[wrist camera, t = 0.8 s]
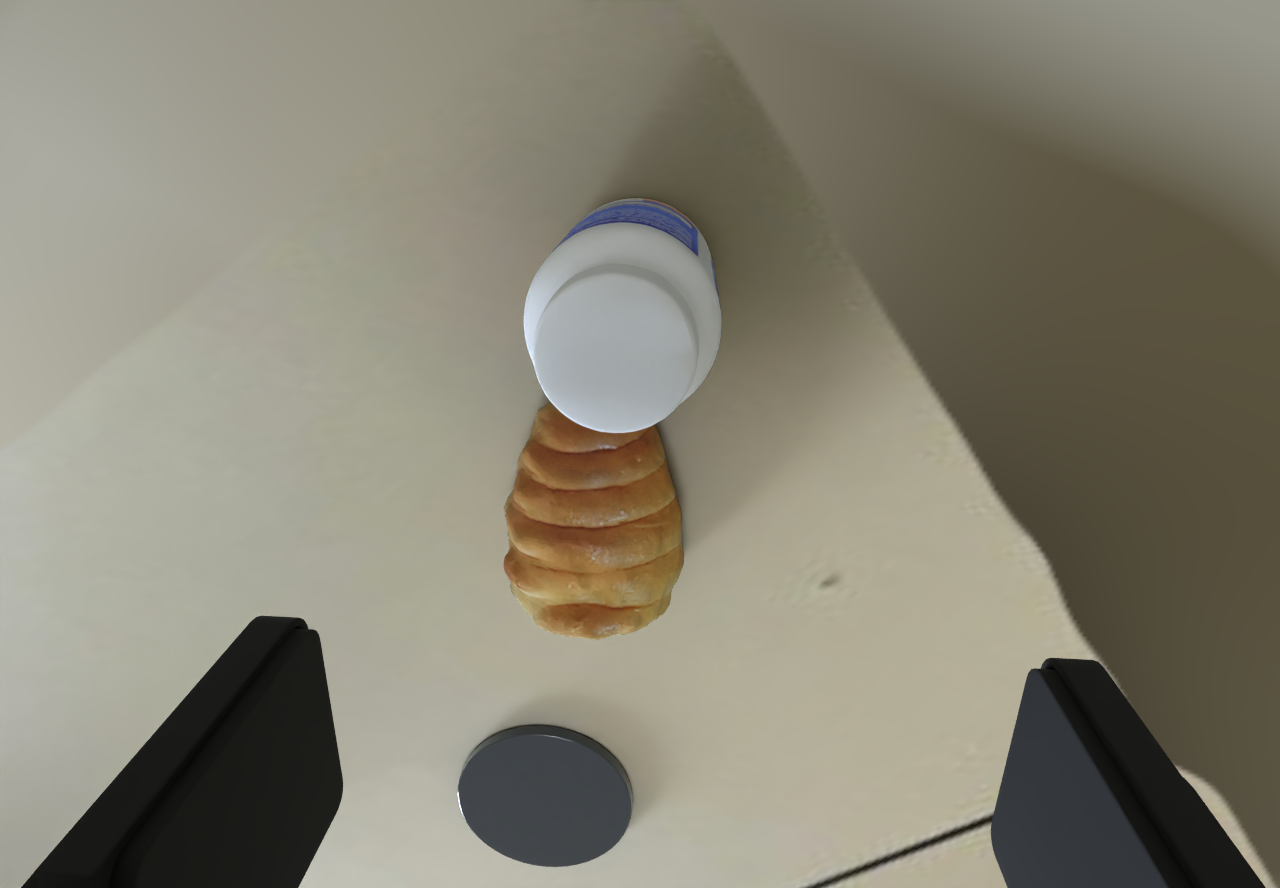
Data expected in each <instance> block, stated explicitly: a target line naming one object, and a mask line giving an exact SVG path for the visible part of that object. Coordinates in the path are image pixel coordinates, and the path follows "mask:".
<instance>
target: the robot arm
mask: <svg viewBox="0 0 1280 888" xmlns="http://www.w3.org/2000/svg"><path fill="white" fill-rule="evenodd" d="M342 793H343V778H342V772H341V766H340V760H339V753H338V747H337V741H336V735H335V729H334V722H333V716H332V710H331V704H330V698H329V692H328V685H327V679H326V673H325V667H324V661H323V654H322V648H321V642H320V637H319V634H318V633H317V631H316V630H312V629H308V626H307V624H306V622H305V621H304V620H303V619H301V618H293V617H274V616H259V617H256V618H255V619H253V620H252V621H251V622H250V623H249V624H248V626H247V627H246V628H245V629H244V630H243V631H242V633H241V634H240V635H239V636H238V637H237V638H236V639H235V641H234V642H233V643H232V644H231V645H230V646H229V648H228V649H227V650H226V651H225V652H224V653H223V654H222V656H221V657H220V658H219V659H218V660H217V661H216V663H215V664H214V665H213V666H212V667H211V668H210V669H209V671H208V672H207V673H206V674H205V675H204V676H203V678H202V679H201V680H200V681H199V682H198V683H197V685H196V686H195V687H194V688H193V689H192V690H191V691H190V693H189V694H188V695H187V696H186V697H185V698H184V700H183V701H182V702H181V703H180V704H179V705H178V706H177V708H176V709H175V710H174V711H173V712H172V713H171V715H170V716H169V717H168V718H167V719H166V720H165V721H164V723H163V724H162V725H161V726H160V727H159V728H158V730H157V731H156V732H155V733H154V734H153V735H152V736H151V738H150V739H149V740H148V741H147V742H146V743H145V745H144V746H143V747H142V748H141V749H140V750H139V751H138V753H137V754H136V755H135V756H134V757H133V758H132V760H131V761H130V762H129V763H128V764H127V765H126V766H125V768H124V769H123V770H122V771H121V772H120V773H119V775H118V776H117V777H116V778H115V779H114V780H113V781H112V783H111V784H110V785H109V786H108V787H107V788H106V790H105V791H104V792H103V793H102V794H101V795H100V796H99V798H98V799H97V800H96V801H95V802H94V803H93V805H92V806H91V807H90V808H89V809H88V810H87V811H86V813H85V814H84V815H83V816H82V817H81V818H80V820H79V821H78V822H77V823H76V824H75V825H74V826H73V828H72V829H71V830H70V831H69V832H68V833H67V835H66V836H65V837H64V838H63V839H62V840H61V841H60V843H59V844H58V845H57V846H56V847H55V848H54V850H53V851H52V852H51V853H50V854H49V855H48V857H47V858H46V859H45V860H44V861H43V862H42V863H41V865H40V866H39V867H38V868H37V869H36V870H35V872H34V873H33V874H32V875H31V877H30V878H29V879H28V880H27V881H26V882H25V884H24V885H23V886H22V887H21V888H298V887H299V885H300V883H301V881H302V879H303V877H304V875H305V873H306V871H307V869H308V867H309V865H310V864H311V862H312V860H313V858H314V856H315V854H316V852H317V850H318V848H319V846H320V844H321V842H322V840H323V838H324V836H325V834H326V832H327V830H328V828H329V826H330V824H331V822H332V821H333V819H334V817H335V815H336V813H337V810H338V808H339V805H340V802H341V798H342ZM991 839H992V846H993V850H994V853H995V857H996V859H997V862H998V864H999V867H1000V869H1001V872H1002V874H1003V877H1004V879H1005V882H1006V885H1007V887H1008V888H1265V886H1264V885H1263V883H1262V882H1261V881H1260V879H1259V878H1258V876H1257V875H1256V874H1255V872H1254V871H1253V870H1252V868H1251V867H1250V865H1249V864H1248V863H1247V861H1246V860H1245V859H1244V857H1243V856H1242V854H1241V853H1240V852H1239V850H1238V849H1237V847H1236V846H1235V845H1234V843H1233V842H1232V841H1231V839H1230V838H1229V836H1228V835H1227V834H1226V832H1225V831H1224V829H1223V828H1222V827H1221V825H1220V824H1219V823H1218V821H1217V820H1216V818H1215V817H1214V816H1213V814H1212V813H1211V811H1210V810H1209V809H1208V807H1207V806H1206V805H1205V803H1204V802H1203V800H1202V799H1201V798H1200V796H1199V795H1198V794H1197V792H1196V791H1195V789H1194V788H1193V787H1192V786H1191V785H1190V784H1189V783H1188V782H1187V781H1186V779H1185V778H1183V777H1182V776H1181V774H1180V773H1179V772H1178V770H1177V769H1176V767H1175V766H1174V765H1173V763H1172V762H1171V760H1170V759H1169V758H1168V756H1167V755H1166V754H1165V752H1164V751H1163V749H1162V748H1161V747H1160V745H1159V744H1158V743H1157V741H1156V740H1155V738H1154V737H1153V735H1152V734H1151V733H1150V731H1149V730H1148V728H1147V727H1146V726H1145V725H1144V723H1143V722H1142V720H1141V719H1140V717H1139V716H1138V715H1137V713H1136V712H1135V710H1134V709H1133V708H1132V706H1131V705H1130V703H1129V702H1128V701H1127V699H1126V698H1125V696H1124V695H1123V694H1122V692H1121V691H1120V689H1119V688H1118V687H1117V685H1116V684H1115V683H1114V681H1113V680H1112V678H1111V677H1110V676H1109V674H1108V673H1107V671H1106V670H1105V669H1104V667H1103V666H1102V665H1101V664H1100V663H1099V662H1097V661H1094V660H1081V659H1062V658H1049V659H1046V660H1045V661H1044V663H1043V664H1042V667H1041V669H1031V671H1030V672H1029V673H1028V676H1027V679H1026V683H1025V687H1024V691H1023V696H1022V700H1021V704H1020V708H1019V712H1018V716H1017V720H1016V724H1015V728H1014V733H1013V737H1012V741H1011V745H1010V749H1009V753H1008V757H1007V761H1006V766H1005V770H1004V774H1003V778H1002V782H1001V786H1000V790H999V794H998V799H997V803H996V807H995V811H994V815H993V819H992V825H991Z"/></svg>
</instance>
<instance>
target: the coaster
mask: <svg viewBox="0 0 1280 888" xmlns="http://www.w3.org/2000/svg"><path fill="white" fill-rule="evenodd" d="M458 800H459V806H460V809H461V812H462V815H463V817H464V819H465V821H466V822H467V824H468V825H469V827H470V828H471V830H472V831H473V832H474V833H475V834H476V835H477V836H478V837H479V838H480V839H481V840H482V841H483V842H484V843H485V844H487V845H488V846H490V847H491V848H492V849H494V850H495V851H497V852H499V853H501V854H503V855H505V856H507V857H509V858H511V859H514V860H517V861H520V862H523V863H527V864H532V865H537V866H545V867H563V866H571V865H577V864H581V863H585V862H588V861H590V860H593V859H595V858H597V857H599V856H601V855H603V854H605V853H606V852H607V851H609V850H610V849H611V848H613V847H614V846H615V845H616V844H617V843H618V842H619V840H620V839H621V838H622V836H623V835H624V833H625V831H626V829H627V827H628V825H629V822H630V819H631V812H632V802H633V799H632V790H631V785H630V782H629V779H628V777H627V775H626V773H625V771H624V769H623V768H622V766H621V765H620V763H619V762H618V761H617V760H616V758H615V757H614V756H613V755H612V754H611V753H610V752H609V751H607V750H606V749H605V748H604V747H602V746H601V745H600V744H598V743H596V742H595V741H593V740H591V739H590V738H588V737H585V736H583V735H581V734H579V733H576V732H573V731H570V730H567V729H562V728H558V727H551V726H522V727H517V728H512V729H509V730H506V731H503V732H500V733H498V734H496V735H494V736H492V737H490V738H489V739H487V740H485V741H484V742H483V743H481V744H480V745H479V746H478V747H477V748H476V749H475V750H474V751H473V752H472V754H471V755H470V756H469V758H468V759H467V761H466V763H465V765H464V768H463V771H462V773H461V776H460V779H459V785H458Z"/></svg>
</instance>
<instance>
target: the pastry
mask: <svg viewBox="0 0 1280 888" xmlns="http://www.w3.org/2000/svg"><path fill="white" fill-rule="evenodd" d="M504 510H505V517H506V520H507V525H508V536H509V552H508V554H507V555H506V556H505V559H504V570H505V572H506V574H507V576H508V577H509V579H510V581H511V583H510V588H511V592H512V594H513V595H514V597H515V598H516V599H517V601H519V602H520V604H521V605H522V607H523V609H524V610H525V611H526V612H527V614H529V615H530V616H532V617H533V619H534V621H535V623H536V624H537V625H538V626H539V627H541V628H543V629H544V630H546V631H548V632H551V633H554V634H560V635H564V636H568V637H576V638H587V639H597V640H598V639H602V638H606V637H609V636H612V635H616V634H622V635H624V634H628V633H631V632H634V631H637V630H639V629H641V628H643V627H645V626H647V625H648V624H649V623H650V622H652V621H653V620H655V619H657V618H658V617H659V616H660V615H662V614H663V613H664V612H665V611H666V609H667V608H668V606H669V604H670V598H671V592H672V588H673V586H674V584H675V583H676V582H677V580H678V578H679V575H680V572H681V569H682V567H683V563H684V552H683V547H682V541H681V539H682V531H681V520H682V515H681V508H680V505H679V502H678V499H677V496H676V492H675V488H674V484H673V482H672V479H671V476H670V473H669V470H668V464H667V460H666V458H665V452H664V448H663V445H662V442H661V439H660V436H659V433H658V430H657V428H656V425H655V424H654V425H652V426H650V427H647V428H644V429H641V430H638V431H634V432H626V433H608V432H600V431H596V430H593V429H589V428H587V427H584V426H582V425H580V424H578V423H576V422H574V421H572V420H571V419H569V418H568V417H566V416H565V415H564V414H562V413H561V412H560V411H559V410H558V409H557V408H556V407H555V406H554V405H553V404H552V403H551V401H550V402H549V403H547V404H546V405H544V406H543V407H542V408H540V409H539V410H538V412H537V414H536V417H535V421H534V424H533V426H532V430H531V435H530V438H529V440H528V441H527V443H526V445H525V447H524V449H523V451H522V452H521V454H520V456H519V459H518V466H517V477H516V480H515V483H514V489H513V491H512V493H511V494H510V495H509V497H508V499H507V501H506V504H505V506H504Z"/></svg>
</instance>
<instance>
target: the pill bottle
mask: <svg viewBox="0 0 1280 888" xmlns="http://www.w3.org/2000/svg"><path fill="white" fill-rule="evenodd" d="M721 328H722V318H721V308H720V301H719V296H718V291H717V286H716V279H715V271H714V265H713V260H712V257H711V254H710V251H709V248H708V245H707V243H706V241H705V239H704V237H703V236H702V234H701V233H700V231H699V230H698V228H697V227H696V226H695V225H694V223H693V222H692V221H691V220H690V219H689V218H687V217H686V216H685V215H684V214H683V213H681V212H680V211H678V210H677V209H675V208H673V207H671V206H669V205H667V204H665V203H662V202H659V201H655V200H651V199H643V198H629V199H622V200H617V201H613V202H610V203H607V204H605V205H602V206H600V207H598V208H597V209H595V210H594V211H592V212H590V213H589V214H588V215H586V216H585V217H584V218H583V219H582V220H581V221H580V222H579V223H578V224H577V225H576V226H575V227H574V228H573V229H572V230H571V231H570V233H569V234H568V235H567V236H566V237H565V238H564V239H563V241H562V242H561V243H560V244H559V245H558V246H557V247H556V248H555V249H554V250H553V251H552V253H551V254H550V255H549V256H548V257H547V258H546V260H545V261H544V263H543V264H542V265H541V267H540V268H539V270H538V272H537V273H536V275H535V277H534V279H533V281H532V283H531V286H530V289H529V291H528V294H527V298H526V303H525V310H524V333H525V339H526V345H527V348H528V352H529V354H530V357H531V359H532V361H533V364H534V368H535V371H536V375H537V378H538V381H539V383H540V385H541V387H542V389H543V391H544V393H545V394H546V396H547V397H548V399H549V400H550V401H551V403H552V404H553V405H554V406H555V407H556V408H557V409H558V410H559V411H560V412H561V413H562V414H564V415H565V416H566V417H568V418H569V419H571V420H572V421H574V422H576V423H578V424H580V425H582V426H584V427H587V428H589V429H593V430H596V431H600V432H608V433H626V432H634V431H638V430H641V429H644V428H647V427H650V426H652V425H654V424H656V423H658V422H659V421H661V420H663V419H664V418H666V417H667V416H668V415H669V414H671V413H672V412H673V411H674V410H675V409H676V408H677V407H678V405H679V404H680V403H682V402H683V401H685V400H686V399H687V398H688V397H689V396H691V395H692V394H693V393H694V392H695V391H696V390H697V389H698V387H699V386H700V385H701V384H702V382H703V381H704V379H705V378H706V377H707V375H708V373H709V371H710V370H711V368H712V366H713V363H714V361H715V358H716V355H717V353H718V349H719V345H720V339H721Z"/></svg>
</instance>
